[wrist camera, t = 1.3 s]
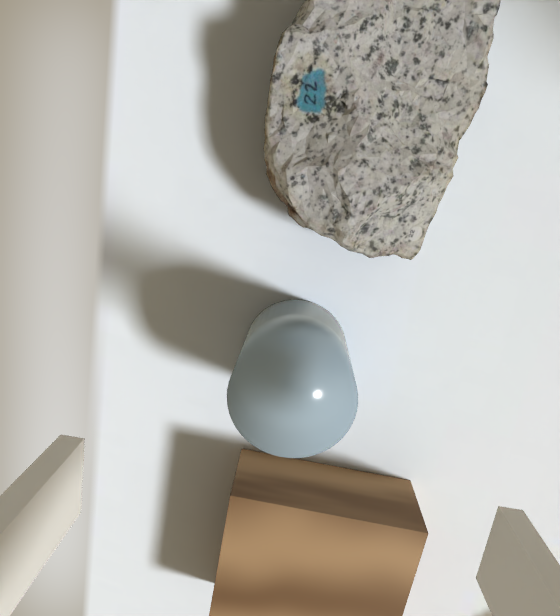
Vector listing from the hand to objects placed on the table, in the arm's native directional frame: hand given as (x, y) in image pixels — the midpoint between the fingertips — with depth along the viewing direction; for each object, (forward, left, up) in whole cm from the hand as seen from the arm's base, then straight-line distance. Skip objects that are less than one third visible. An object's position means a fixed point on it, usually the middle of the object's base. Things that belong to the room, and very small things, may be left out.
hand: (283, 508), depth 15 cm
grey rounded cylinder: (0, 0, -14) cm, 14 cm away
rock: (-13, -1, -15) cm, 20 cm away
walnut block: (+13, +3, -14) cm, 19 cm away
